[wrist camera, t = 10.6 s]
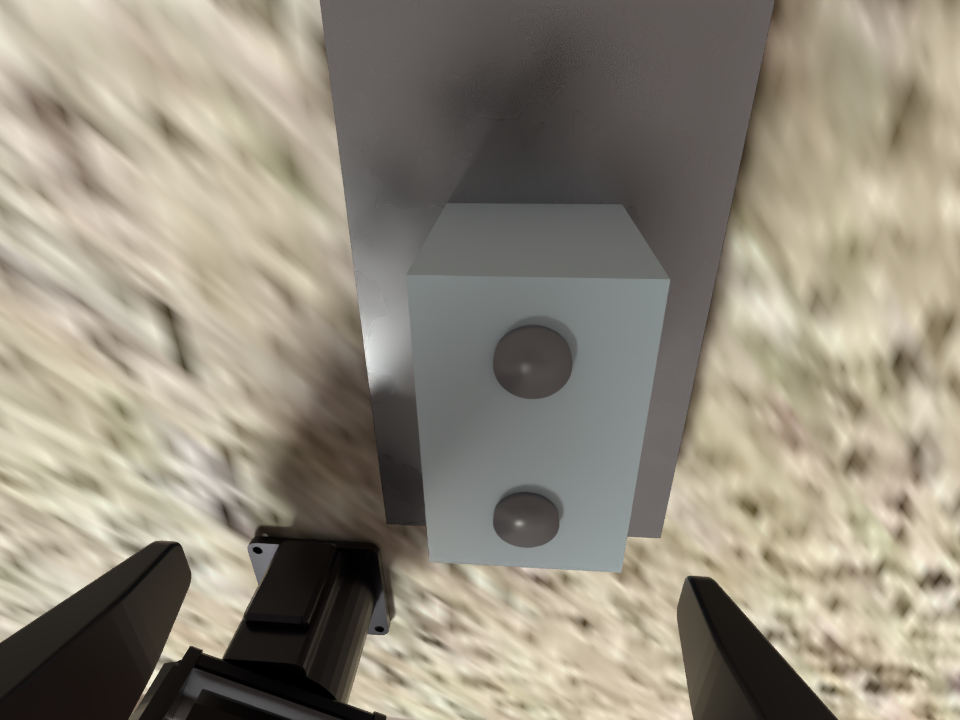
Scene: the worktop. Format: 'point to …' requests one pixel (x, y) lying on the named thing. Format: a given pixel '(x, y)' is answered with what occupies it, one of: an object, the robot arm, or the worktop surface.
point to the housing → (533, 380)
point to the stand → (539, 166)
